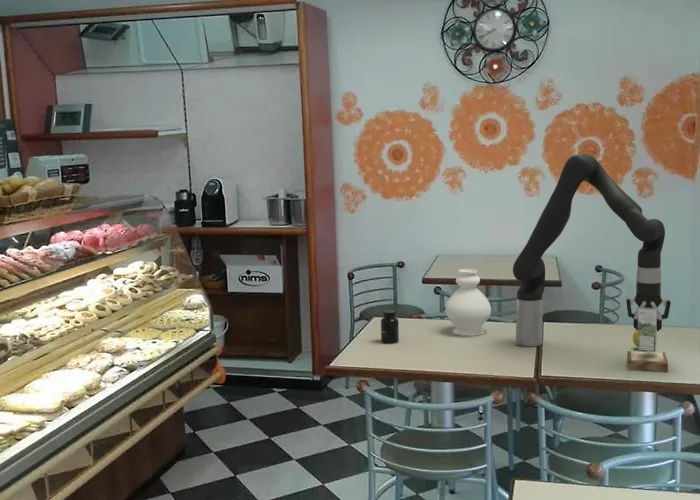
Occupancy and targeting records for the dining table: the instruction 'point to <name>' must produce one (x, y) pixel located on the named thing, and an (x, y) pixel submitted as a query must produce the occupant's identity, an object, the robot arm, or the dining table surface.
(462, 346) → the dining table surface
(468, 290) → the decorative vase
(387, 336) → the supplement bottle
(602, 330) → the dining table surface
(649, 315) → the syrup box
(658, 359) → the plinth
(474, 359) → the dining table surface
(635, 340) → the lemon
